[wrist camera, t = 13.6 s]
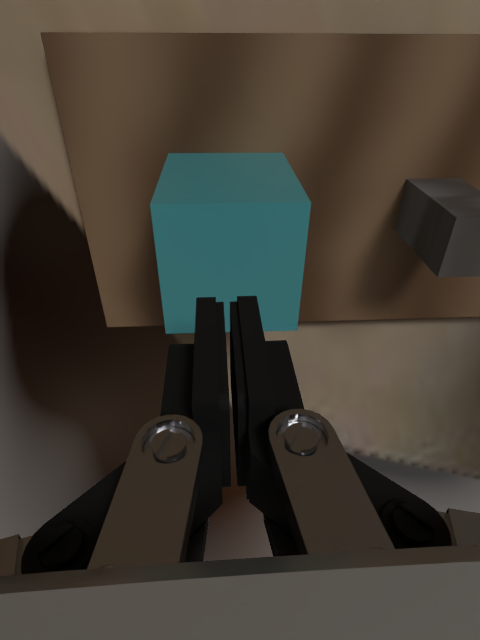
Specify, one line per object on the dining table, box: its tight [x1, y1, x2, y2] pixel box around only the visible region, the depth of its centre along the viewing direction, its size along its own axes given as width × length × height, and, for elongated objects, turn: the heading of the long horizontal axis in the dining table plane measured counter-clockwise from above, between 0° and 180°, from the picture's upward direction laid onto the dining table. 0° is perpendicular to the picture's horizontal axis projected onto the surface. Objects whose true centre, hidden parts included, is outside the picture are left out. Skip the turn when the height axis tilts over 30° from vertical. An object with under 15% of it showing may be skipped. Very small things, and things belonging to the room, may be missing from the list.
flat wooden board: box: [41, 33, 480, 327], centre depth 19 cm, size 24×14×6 cm, turn 90°
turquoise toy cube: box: [150, 153, 311, 334], centre depth 17 cm, size 5×5×7 cm
